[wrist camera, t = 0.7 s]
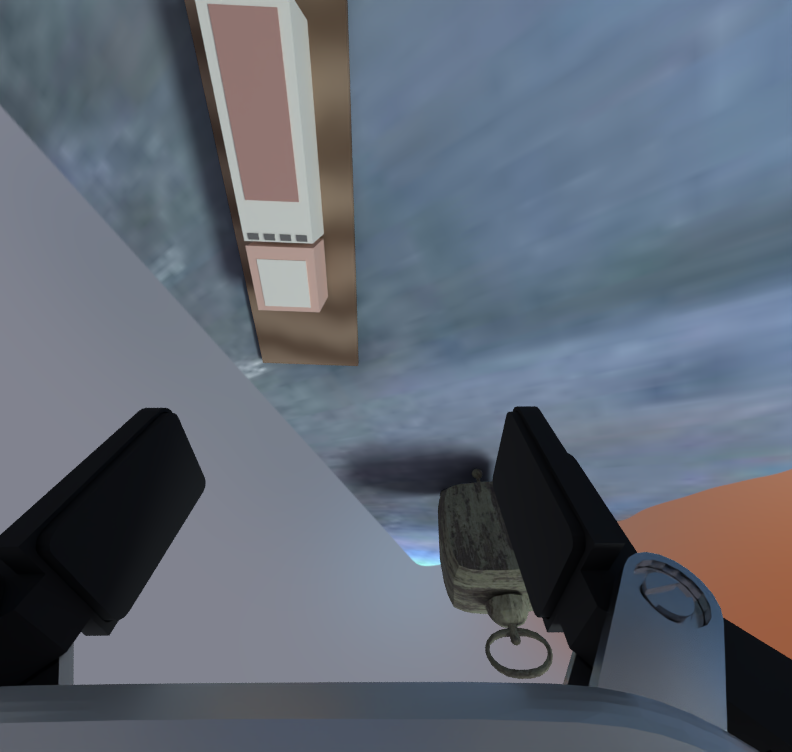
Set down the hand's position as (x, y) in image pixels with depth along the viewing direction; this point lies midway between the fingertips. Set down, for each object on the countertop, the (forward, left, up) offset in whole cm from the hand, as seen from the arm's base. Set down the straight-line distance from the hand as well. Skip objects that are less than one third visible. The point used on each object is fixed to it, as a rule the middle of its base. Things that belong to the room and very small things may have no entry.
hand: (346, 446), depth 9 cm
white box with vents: (-8, -9, -29) cm, 32 cm away
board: (-2, -9, -29) cm, 31 cm away
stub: (+2, -9, -28) cm, 29 cm away
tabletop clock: (+36, +16, -29) cm, 49 cm away
